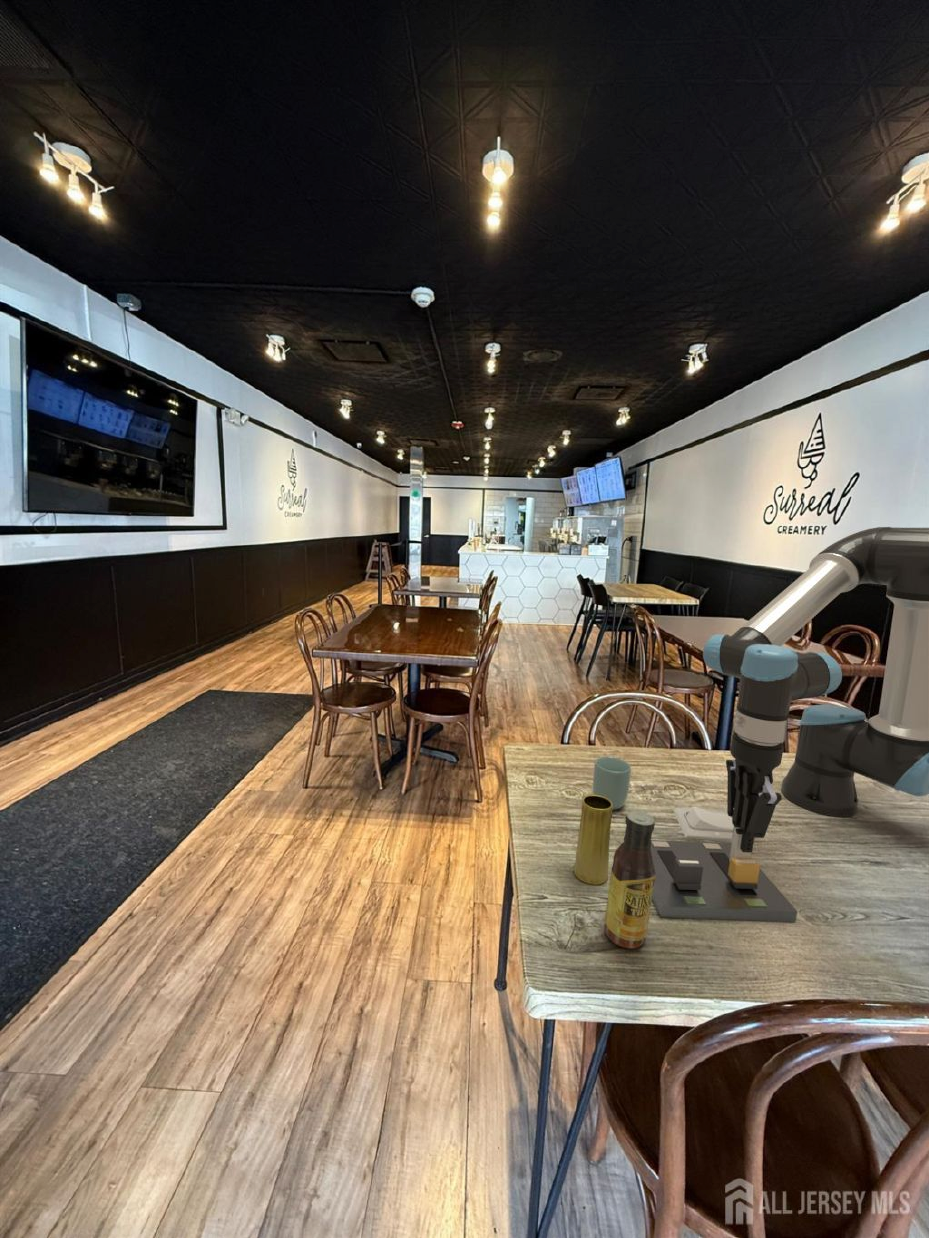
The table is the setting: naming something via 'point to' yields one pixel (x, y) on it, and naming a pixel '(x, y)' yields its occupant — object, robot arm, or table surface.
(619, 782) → the cup
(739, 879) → the lever
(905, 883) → the table surface
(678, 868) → the lever
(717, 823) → the light switch
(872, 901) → the table surface
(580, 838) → the vase
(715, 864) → the breaker panel
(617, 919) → the sauce bottle
